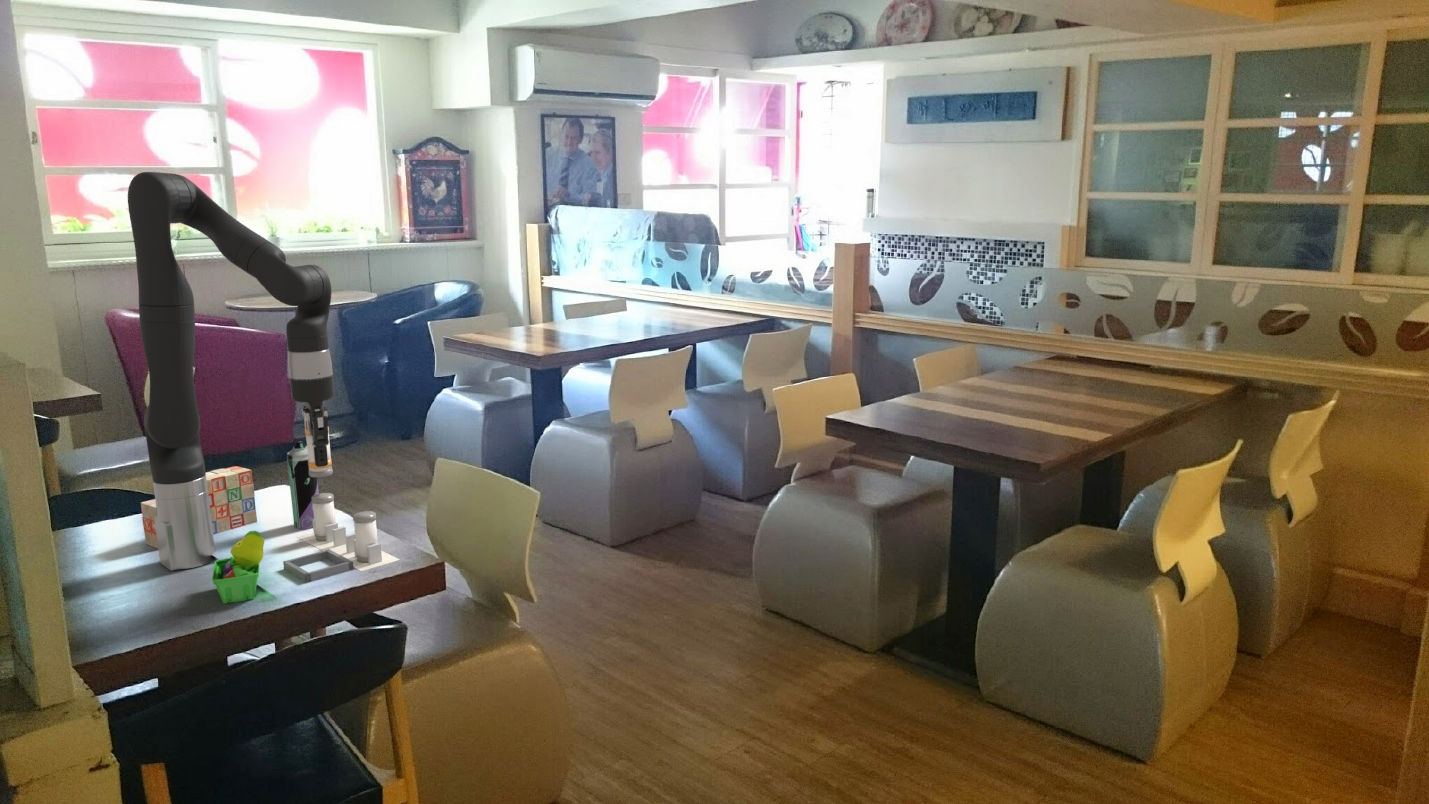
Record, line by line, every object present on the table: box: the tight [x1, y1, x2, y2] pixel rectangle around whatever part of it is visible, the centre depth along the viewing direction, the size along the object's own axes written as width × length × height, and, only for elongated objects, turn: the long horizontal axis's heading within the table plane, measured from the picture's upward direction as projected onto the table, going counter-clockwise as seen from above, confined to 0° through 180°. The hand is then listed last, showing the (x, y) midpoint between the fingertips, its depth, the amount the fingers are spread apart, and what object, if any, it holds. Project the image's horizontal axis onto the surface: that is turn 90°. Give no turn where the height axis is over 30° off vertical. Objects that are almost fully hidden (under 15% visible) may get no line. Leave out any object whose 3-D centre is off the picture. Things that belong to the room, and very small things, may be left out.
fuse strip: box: [297, 519, 401, 572], centre depth 204 cm, size 8×28×5 cm, turn 45°
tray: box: [282, 549, 355, 583], centre depth 194 cm, size 9×10×3 cm
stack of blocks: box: [140, 465, 258, 550], centre depth 219 cm, size 21×6×12 cm, turn 145°
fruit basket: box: [211, 530, 265, 604], centre depth 186 cm, size 11×9×11 cm
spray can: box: [286, 440, 320, 530], centre depth 217 cm, size 6×6×20 cm
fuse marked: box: [304, 426, 334, 478], centre depth 193 cm, size 4×4×9 cm
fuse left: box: [312, 492, 337, 541], centre depth 210 cm, size 4×4×9 cm
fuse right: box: [352, 510, 379, 563], centre depth 197 cm, size 4×4×9 cm
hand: (319, 462), depth 193 cm, fingers closed on fuse marked, 4 cm apart
